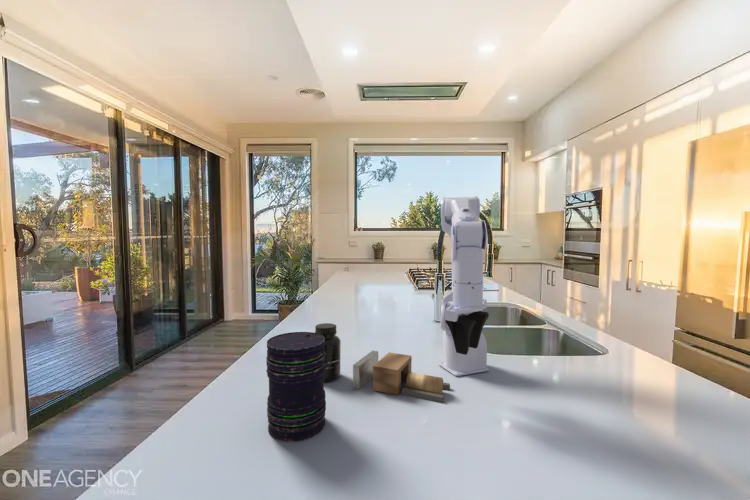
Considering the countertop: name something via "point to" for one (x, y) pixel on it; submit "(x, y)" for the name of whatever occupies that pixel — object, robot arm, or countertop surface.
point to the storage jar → (296, 386)
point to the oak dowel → (424, 383)
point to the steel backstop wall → (364, 369)
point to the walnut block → (391, 373)
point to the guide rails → (426, 393)
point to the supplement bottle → (330, 350)
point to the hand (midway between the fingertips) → (466, 350)
